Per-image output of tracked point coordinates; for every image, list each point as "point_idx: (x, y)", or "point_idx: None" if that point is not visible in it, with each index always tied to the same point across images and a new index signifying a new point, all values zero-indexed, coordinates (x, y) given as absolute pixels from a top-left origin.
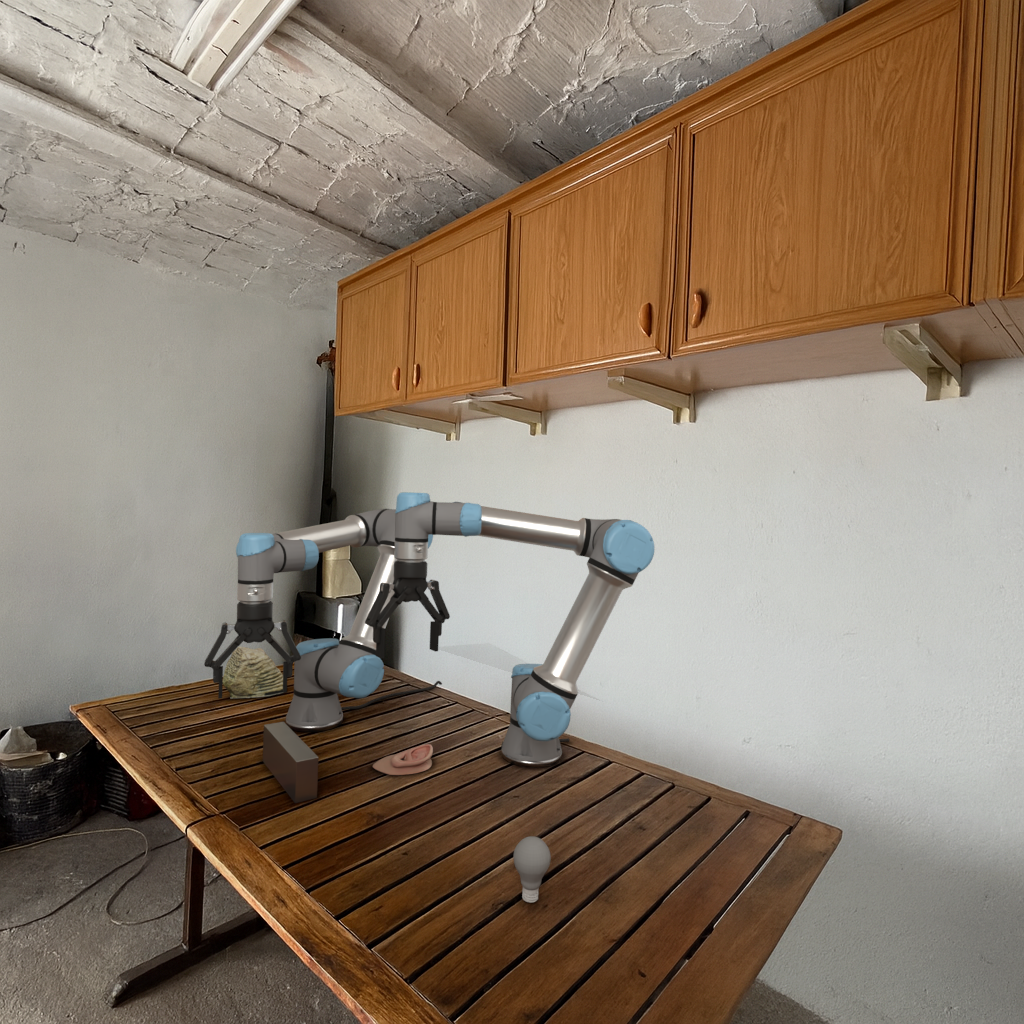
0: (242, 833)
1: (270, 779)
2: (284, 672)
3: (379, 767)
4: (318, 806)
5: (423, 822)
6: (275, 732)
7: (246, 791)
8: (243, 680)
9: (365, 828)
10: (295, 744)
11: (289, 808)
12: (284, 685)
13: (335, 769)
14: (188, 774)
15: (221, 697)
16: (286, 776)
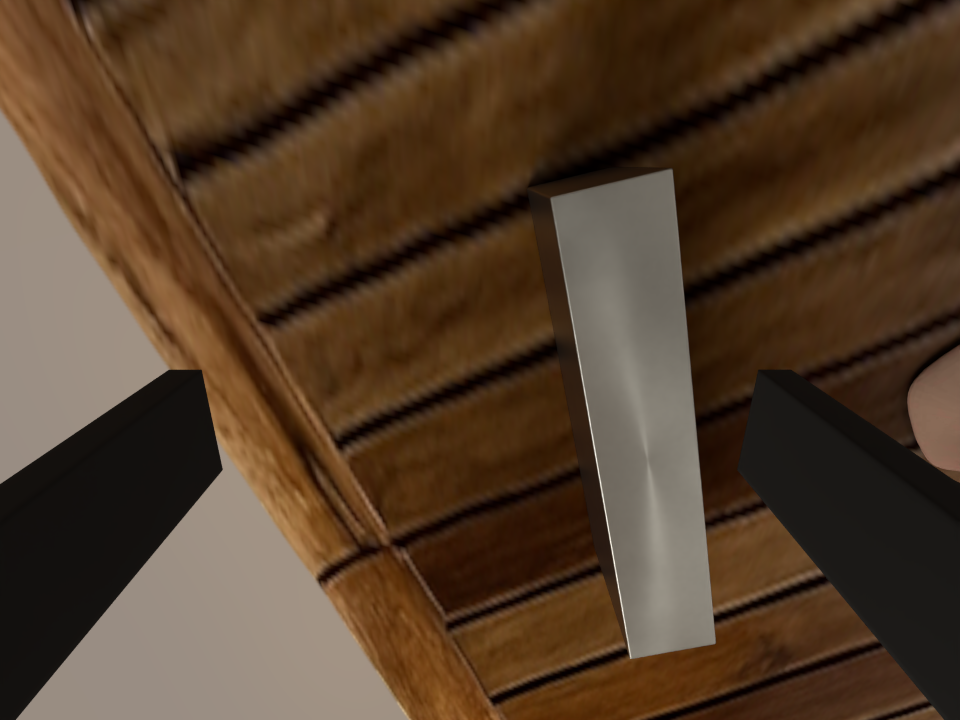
0: (453, 643)
1: (542, 372)
2: (877, 630)
3: (925, 422)
4: None
5: (861, 700)
6: (598, 344)
7: (461, 438)
8: None
9: (728, 690)
10: (661, 515)
11: (575, 567)
12: (781, 514)
13: (779, 356)
14: (241, 237)
15: (214, 472)
16: (591, 505)
